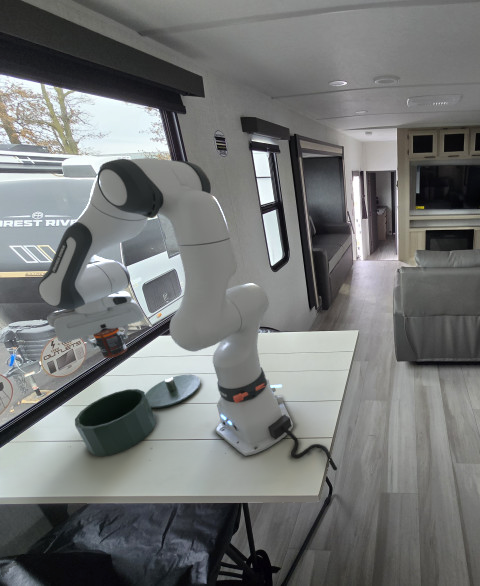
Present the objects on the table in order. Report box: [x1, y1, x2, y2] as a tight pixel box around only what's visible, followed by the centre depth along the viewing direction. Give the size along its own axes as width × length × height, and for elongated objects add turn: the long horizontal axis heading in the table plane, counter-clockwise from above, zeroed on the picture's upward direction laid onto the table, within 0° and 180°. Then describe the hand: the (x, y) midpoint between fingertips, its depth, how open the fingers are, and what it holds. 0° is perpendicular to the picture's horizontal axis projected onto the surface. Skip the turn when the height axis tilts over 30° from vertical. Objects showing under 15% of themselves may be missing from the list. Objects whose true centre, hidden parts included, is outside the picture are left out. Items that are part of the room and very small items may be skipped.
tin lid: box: [145, 374, 201, 409], centre depth 102 cm, size 16×16×5 cm
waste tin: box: [74, 388, 157, 457], centre depth 85 cm, size 15×15×10 cm
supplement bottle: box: [92, 324, 128, 359], centre depth 97 cm, size 6×6×11 cm
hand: (111, 342), depth 97 cm, fingers closed on supplement bottle, 6 cm apart
